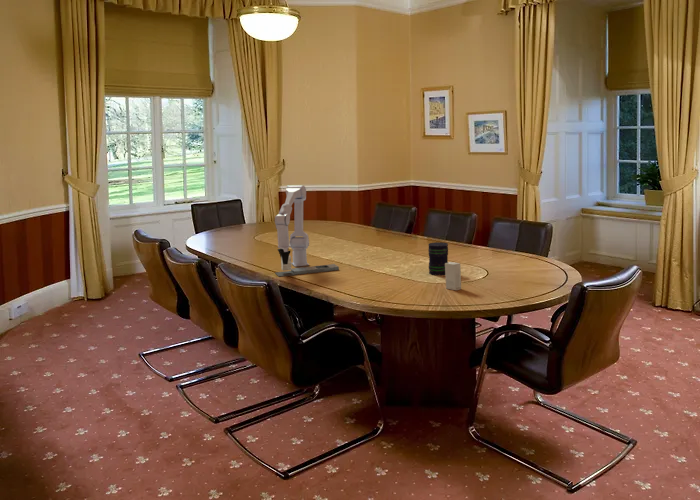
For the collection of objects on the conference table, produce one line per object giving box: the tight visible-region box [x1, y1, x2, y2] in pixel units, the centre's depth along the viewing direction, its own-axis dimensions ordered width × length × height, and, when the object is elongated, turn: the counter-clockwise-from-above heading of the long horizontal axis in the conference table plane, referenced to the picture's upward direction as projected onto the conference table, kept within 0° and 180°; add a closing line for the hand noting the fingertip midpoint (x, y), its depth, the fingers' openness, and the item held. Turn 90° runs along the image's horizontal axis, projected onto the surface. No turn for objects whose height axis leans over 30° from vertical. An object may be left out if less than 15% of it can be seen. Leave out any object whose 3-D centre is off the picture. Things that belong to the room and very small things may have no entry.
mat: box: [274, 270, 297, 278], centre depth 358 cm, size 9×9×1 cm
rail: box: [290, 263, 340, 276], centre depth 363 cm, size 8×24×2 cm, turn 108°
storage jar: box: [427, 241, 449, 276], centre depth 346 cm, size 10×10×15 cm
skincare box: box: [444, 261, 462, 291], centre depth 314 cm, size 6×4×12 cm
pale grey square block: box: [280, 254, 292, 272], centre depth 357 cm, size 4×4×7 cm
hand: (284, 263), depth 357 cm, fingers closed on pale grey square block, 4 cm apart
